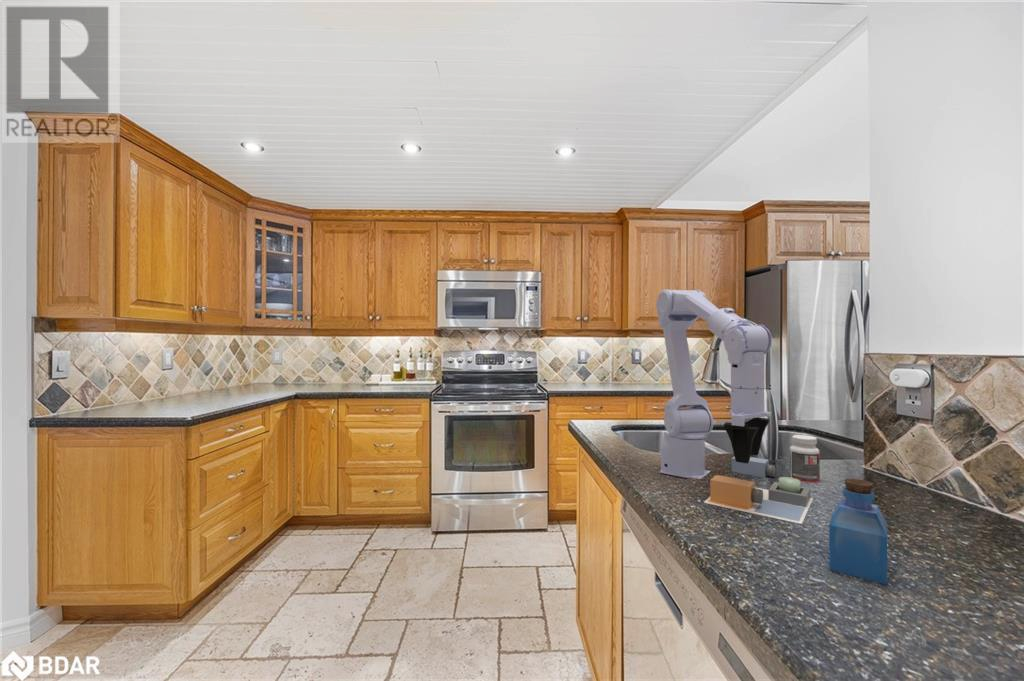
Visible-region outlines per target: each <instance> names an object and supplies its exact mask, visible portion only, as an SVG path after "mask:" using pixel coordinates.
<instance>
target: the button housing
mask: <svg viewBox="0 0 1024 681" xmlns="http://www.w3.org/2000/svg"><path fill="white" fill-rule="evenodd" d="M767 490H768V500H771V501H776V502H781V503H786V504H791V505H796V506H802V507H807V505H808V502H809V500H810V498H811V488H810V487H806V486H801V485H800V493H792V492H786V491H781V490H780V489H779V482H776V481H773V483H772V485H771V486H770V487H769V488H768V489H767Z"/></svg>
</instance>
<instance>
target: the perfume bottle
mask: <svg viewBox="0 0 1024 681" xmlns="http://www.w3.org/2000/svg"><path fill="white" fill-rule="evenodd" d="M844 485H845V486H844V487H843V488H842V495H843V497H845V498H841V500H840V501H839V503H838V504H837V506H836V507H835V508H834V510H833V512H832V515H831V517H830V522H829V524H828V526H829V527H828V533H829V535H828V536H829V538H828V542H829V543H828V544H829V545H828V546H829V547H828V552H829V553H828V555H829V556H828V561H829V562H828V564H829V565H828V566H829V567H828V570H829V571H833V572H838V573H841V574H845V575H848V576H853V577H856V578H858V579H859V578H860V579H864V580H868V581H871V582H874V583H878V584H883V585H886V586H887V585H888V521H887V520H886V518H885V516H884V514H883V513H882V511H881V510H880V508H879V507H878V505H877V504H873V503H872V502H875V493H874V491H873V490H872V489H873V486H874V484H873V482H870V481H868V480H864V479H859V478H845V479H844Z"/></svg>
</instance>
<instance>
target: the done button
mask: <svg viewBox="0 0 1024 681" xmlns="http://www.w3.org/2000/svg"><path fill="white" fill-rule="evenodd" d="M778 483H779V489H780V490H781V491H786V492H792V493H800V486H801V481H800V480H798V479H795V478H790V476H779V477H778Z"/></svg>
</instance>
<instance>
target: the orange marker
mask: <svg viewBox="0 0 1024 681" xmlns="http://www.w3.org/2000/svg"><path fill="white" fill-rule="evenodd" d="M709 487H710V490H709V493H710V495H709V497H710V500H711V501H715V502H720V503H725V504H730V505H734V506H739V507H744V508H749V509H751V507H752V506H753V505H754V503H758V504H762V502H763V490H761V489H762V488H760V489H756V488H757V487H756V481H751V480H745V479H739V478H736V477H729V476H725V475H724V476H723V475H718V474H716V475H714V476H713V477H712V478H711V479H710V485H709Z"/></svg>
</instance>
